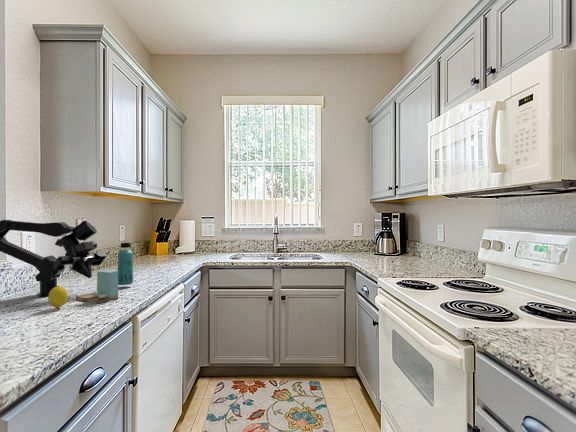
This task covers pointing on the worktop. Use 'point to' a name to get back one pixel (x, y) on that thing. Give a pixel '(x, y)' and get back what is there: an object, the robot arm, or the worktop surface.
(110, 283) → the fixed leg
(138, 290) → the worktop surface
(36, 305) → the worktop surface
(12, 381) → the worktop surface
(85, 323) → the worktop surface
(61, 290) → the lemon
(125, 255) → the beverage bottle
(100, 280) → the block
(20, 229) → the robot arm
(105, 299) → the board
